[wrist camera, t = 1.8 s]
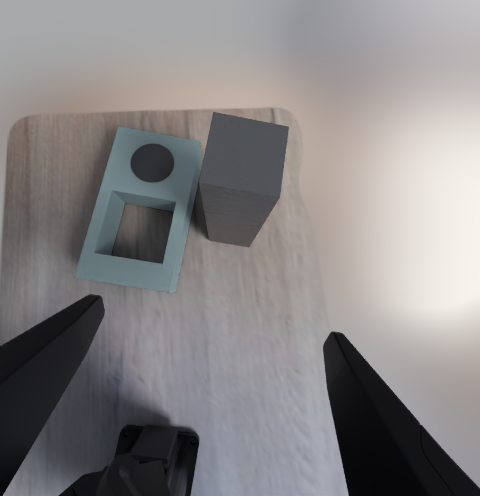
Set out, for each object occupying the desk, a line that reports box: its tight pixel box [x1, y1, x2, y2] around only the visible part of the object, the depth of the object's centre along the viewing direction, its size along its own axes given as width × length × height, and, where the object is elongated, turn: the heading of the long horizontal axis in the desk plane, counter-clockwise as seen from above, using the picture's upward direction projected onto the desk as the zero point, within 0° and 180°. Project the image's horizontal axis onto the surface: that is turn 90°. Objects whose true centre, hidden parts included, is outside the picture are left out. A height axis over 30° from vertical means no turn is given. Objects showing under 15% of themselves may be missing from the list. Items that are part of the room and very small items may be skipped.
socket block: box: [74, 126, 203, 293], centre depth 22 cm, size 14×8×3 cm, turn 171°
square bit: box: [199, 112, 289, 247], centre depth 18 cm, size 4×4×12 cm
